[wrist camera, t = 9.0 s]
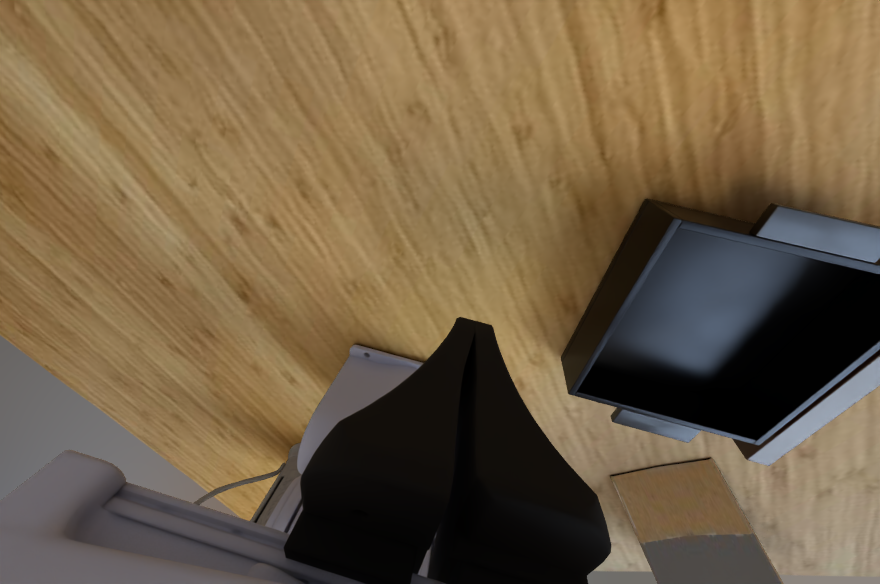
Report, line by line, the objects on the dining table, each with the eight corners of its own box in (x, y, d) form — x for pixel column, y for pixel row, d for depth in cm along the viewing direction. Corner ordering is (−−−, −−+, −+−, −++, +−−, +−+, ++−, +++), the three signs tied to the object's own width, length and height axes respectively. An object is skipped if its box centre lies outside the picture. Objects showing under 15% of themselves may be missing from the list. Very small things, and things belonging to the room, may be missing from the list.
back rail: (720, 421, 24) (746, 460, 21) (938, 219, 15) (1024, 242, 13) (741, 427, 24) (769, 466, 21) (971, 226, 15) (1066, 251, 12)
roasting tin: (553, 370, 24) (559, 408, 21) (659, 171, 16) (693, 186, 13) (713, 413, 23) (743, 458, 20) (906, 225, 15) (999, 254, 13)
